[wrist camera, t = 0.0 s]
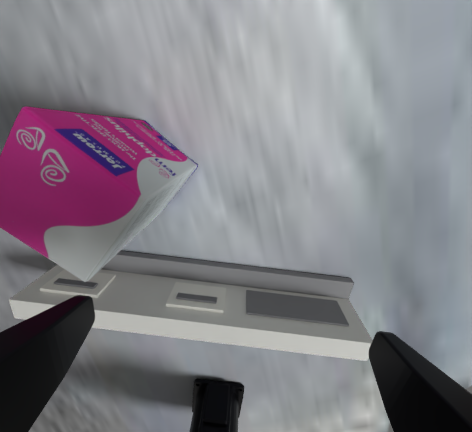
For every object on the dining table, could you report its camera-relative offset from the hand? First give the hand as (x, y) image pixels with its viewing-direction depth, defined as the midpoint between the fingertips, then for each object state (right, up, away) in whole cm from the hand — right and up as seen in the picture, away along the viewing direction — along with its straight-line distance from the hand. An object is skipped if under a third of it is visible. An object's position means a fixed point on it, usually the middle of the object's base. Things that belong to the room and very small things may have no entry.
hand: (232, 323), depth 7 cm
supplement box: (-7, +8, +13) cm, 17 cm away
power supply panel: (-3, -4, +17) cm, 18 cm away
